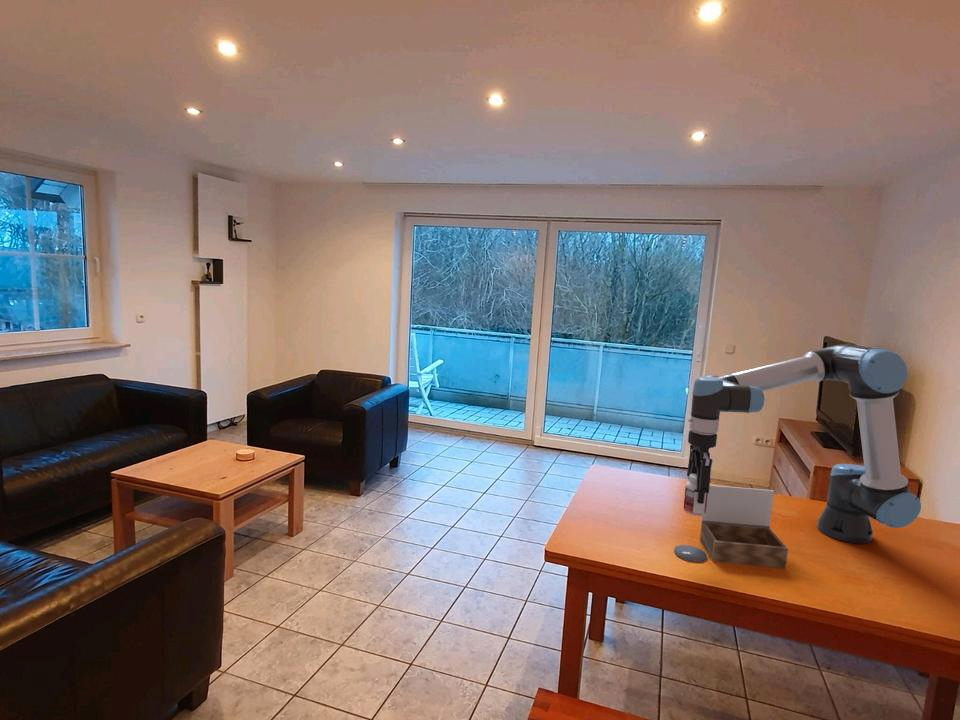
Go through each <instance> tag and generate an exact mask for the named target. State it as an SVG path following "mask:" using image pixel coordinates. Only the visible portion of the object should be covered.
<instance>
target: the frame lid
mask: <svg viewBox="0 0 960 720" xmlns="http://www.w3.org/2000/svg"><path fill="white" fill-rule="evenodd" d="M774 493H775V491H774V489H764V488H763V489H762V488H752V487H751V488H749V487H738V486H727V485H726V486H725V485H716V484H715V485H713V484H710V486H709V493H708V497H707V507H706V514H705V515H703V516H701V518H700V519H701V520H700V523H701V524H702V523H712V524H723V525H735V526H746V527H757V528H769V529H771V526H770V524H771V518H772V517H771V516H772V509H773V501H774V495H775V494H774Z"/></svg>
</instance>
